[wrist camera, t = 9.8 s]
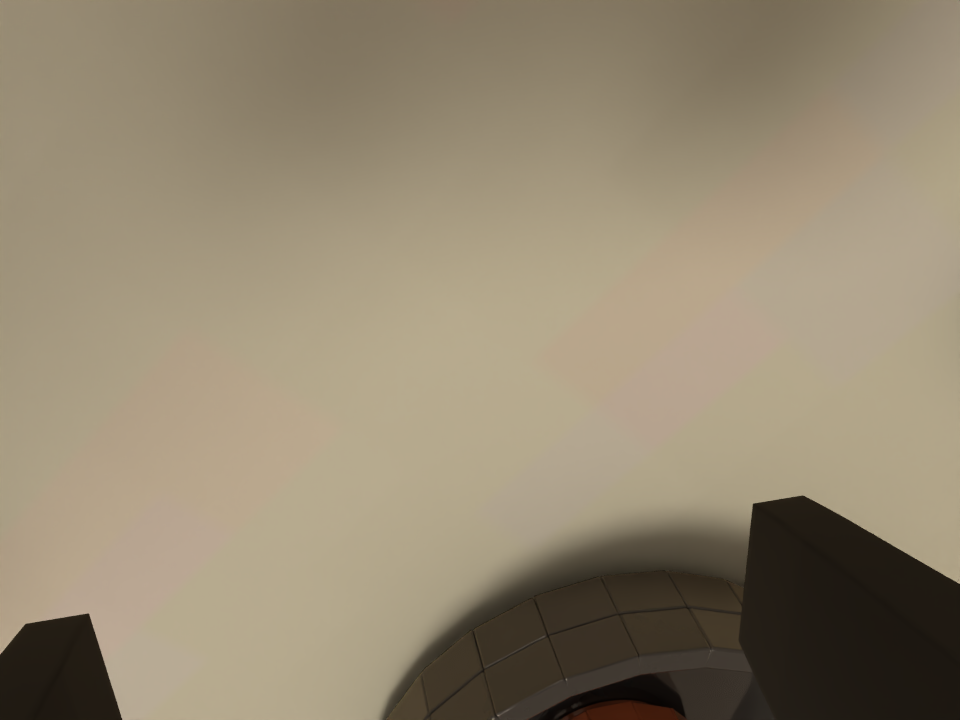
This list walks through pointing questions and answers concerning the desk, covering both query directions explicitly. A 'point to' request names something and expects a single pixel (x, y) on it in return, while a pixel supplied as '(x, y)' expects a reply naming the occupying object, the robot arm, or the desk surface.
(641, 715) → the terracotta cup
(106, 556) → the desk surface
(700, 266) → the desk surface
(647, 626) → the pan
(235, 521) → the desk surface
